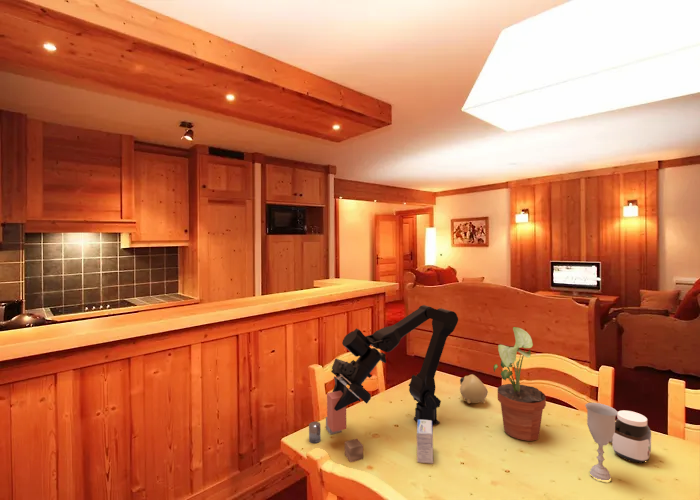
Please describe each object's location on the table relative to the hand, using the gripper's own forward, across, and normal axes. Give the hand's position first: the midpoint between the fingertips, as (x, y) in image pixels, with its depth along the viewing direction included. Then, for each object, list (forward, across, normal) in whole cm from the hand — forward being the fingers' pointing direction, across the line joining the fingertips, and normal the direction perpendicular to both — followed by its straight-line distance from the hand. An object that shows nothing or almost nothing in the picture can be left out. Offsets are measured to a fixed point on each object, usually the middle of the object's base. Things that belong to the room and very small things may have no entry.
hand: (332, 406), depth 111 cm
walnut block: (+6, +8, +11) cm, 15 cm away
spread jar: (-45, +39, +63) cm, 87 cm away
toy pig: (-33, -5, +51) cm, 61 cm away
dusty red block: (+4, 0, +6) cm, 7 cm away
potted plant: (-31, +19, +49) cm, 61 cm away
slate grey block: (+6, -8, +11) cm, 15 cm away
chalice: (-33, +43, +50) cm, 74 cm away
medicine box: (-7, +16, +24) cm, 30 cm away
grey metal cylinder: (+11, -5, +6) cm, 14 cm away
